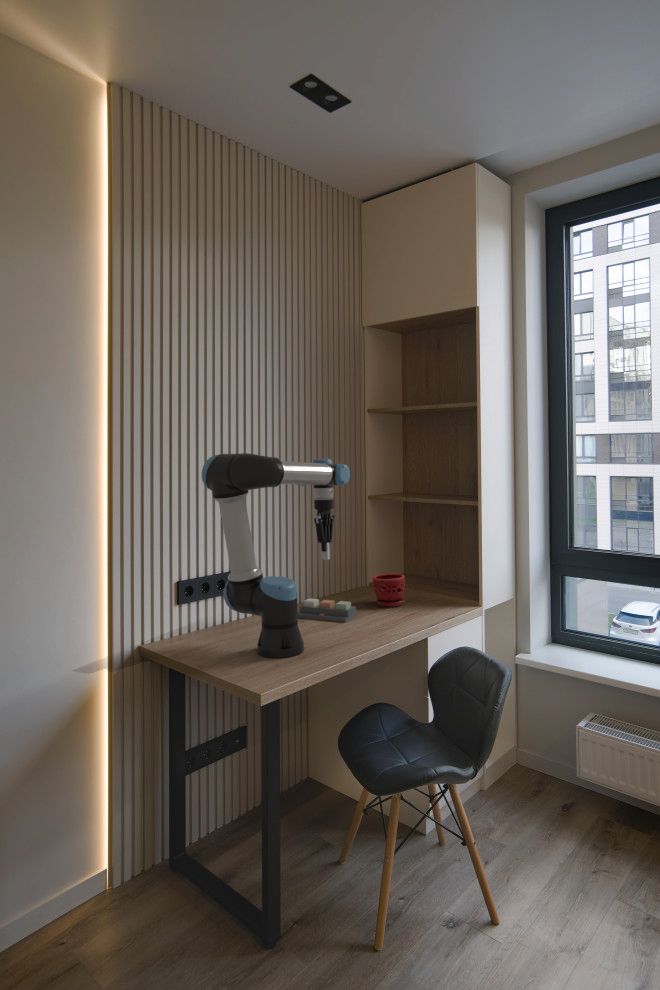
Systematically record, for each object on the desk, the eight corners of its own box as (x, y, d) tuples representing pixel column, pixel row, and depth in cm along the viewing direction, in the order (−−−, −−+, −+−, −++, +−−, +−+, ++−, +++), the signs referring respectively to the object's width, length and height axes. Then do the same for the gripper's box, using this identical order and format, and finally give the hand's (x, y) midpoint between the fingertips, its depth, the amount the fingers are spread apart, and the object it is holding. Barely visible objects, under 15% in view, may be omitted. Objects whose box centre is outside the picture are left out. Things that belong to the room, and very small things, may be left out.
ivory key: (313, 609, 239) (313, 601, 239) (304, 608, 241) (303, 600, 241) (319, 606, 243) (318, 599, 243) (309, 605, 245) (309, 598, 245)
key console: (345, 622, 229) (345, 612, 229) (296, 617, 239) (296, 607, 238) (356, 616, 238) (355, 606, 237) (308, 611, 247) (307, 602, 247)
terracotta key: (329, 610, 236) (329, 603, 236) (319, 609, 238) (319, 602, 238) (334, 608, 240) (334, 600, 240) (324, 607, 242) (324, 599, 242)
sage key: (346, 612, 233) (346, 604, 233) (335, 611, 235) (335, 603, 235) (351, 609, 237) (350, 601, 237) (340, 608, 239) (340, 601, 239)
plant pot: (405, 600, 260) (404, 572, 260) (405, 608, 247) (404, 578, 247) (374, 600, 262) (373, 573, 261) (373, 608, 249) (372, 579, 248)
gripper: (324, 500, 229) (326, 562, 230) (339, 497, 240) (341, 557, 242) (307, 500, 232) (309, 561, 234) (322, 497, 244) (324, 556, 245)
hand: (325, 559), depth 238 cm, fingers closed
